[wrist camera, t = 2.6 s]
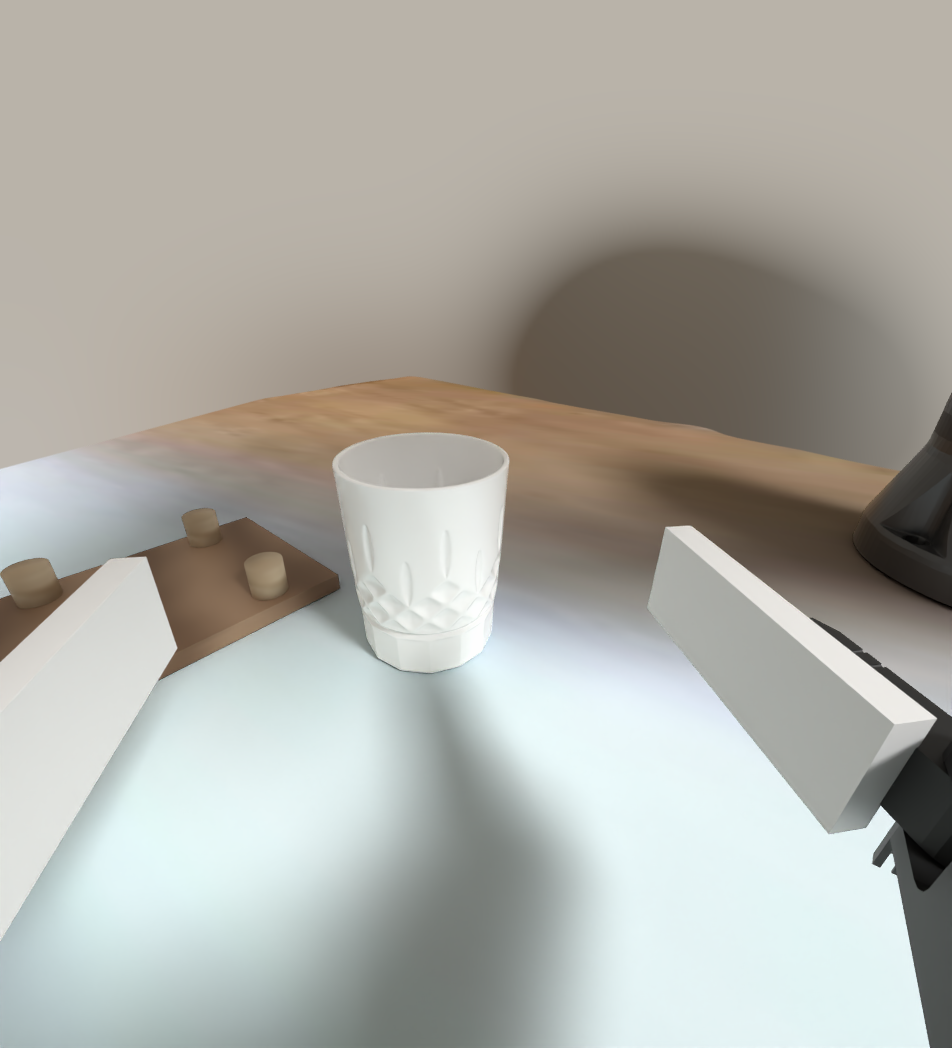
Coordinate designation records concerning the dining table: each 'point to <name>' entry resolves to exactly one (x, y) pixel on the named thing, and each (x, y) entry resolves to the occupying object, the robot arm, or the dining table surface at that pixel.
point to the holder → (188, 586)
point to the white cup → (424, 543)
